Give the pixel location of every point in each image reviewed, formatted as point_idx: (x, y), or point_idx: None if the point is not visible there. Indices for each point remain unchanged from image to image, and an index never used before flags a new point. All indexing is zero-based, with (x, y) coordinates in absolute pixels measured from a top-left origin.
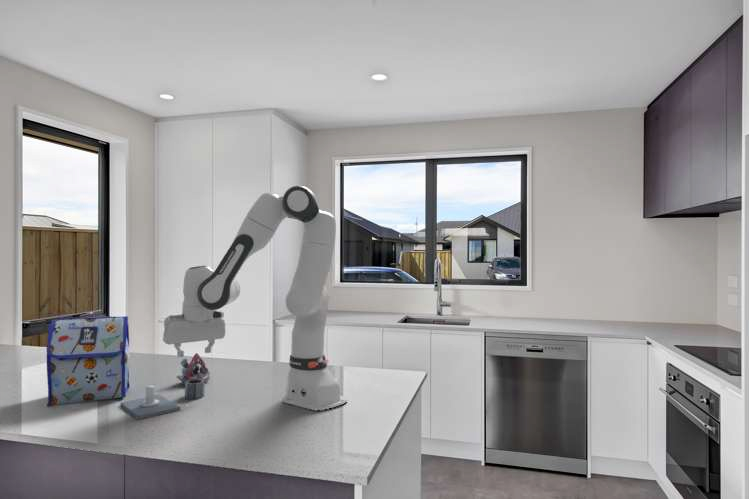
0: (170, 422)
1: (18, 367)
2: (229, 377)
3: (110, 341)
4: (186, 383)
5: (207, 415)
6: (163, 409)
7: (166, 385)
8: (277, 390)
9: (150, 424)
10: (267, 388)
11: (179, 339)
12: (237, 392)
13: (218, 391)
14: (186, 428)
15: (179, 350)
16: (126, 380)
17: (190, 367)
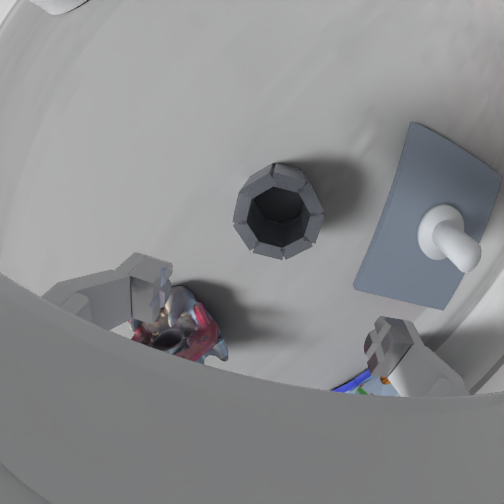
0: (474, 76)
1: None
2: (86, 274)
3: None
4: (319, 228)
5: (385, 12)
6: (453, 154)
7: (253, 356)
8: (72, 48)
9: (501, 117)
10: (72, 84)
11: (497, 421)
12: (148, 111)
13: (182, 176)
14: (466, 16)
15: (430, 353)
16: (373, 394)
17: (190, 352)
